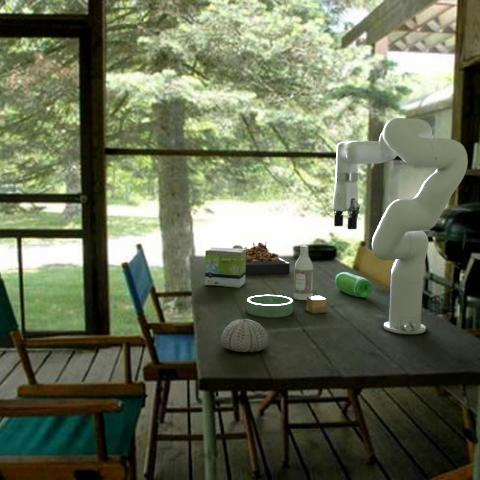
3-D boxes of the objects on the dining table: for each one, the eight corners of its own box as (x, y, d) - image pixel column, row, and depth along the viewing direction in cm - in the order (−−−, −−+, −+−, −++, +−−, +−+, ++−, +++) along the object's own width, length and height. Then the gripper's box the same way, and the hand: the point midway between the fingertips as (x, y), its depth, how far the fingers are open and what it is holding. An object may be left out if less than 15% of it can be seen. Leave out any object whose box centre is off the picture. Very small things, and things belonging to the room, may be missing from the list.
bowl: (293, 319, 202) (294, 305, 202) (247, 318, 203) (247, 304, 202) (290, 308, 218) (291, 295, 217) (247, 307, 218) (247, 294, 217)
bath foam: (290, 299, 230) (291, 246, 228) (298, 296, 236) (299, 244, 234) (307, 301, 227) (309, 247, 224) (315, 298, 233) (316, 245, 230)
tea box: (204, 285, 254) (204, 250, 252) (211, 281, 264) (211, 246, 262) (240, 288, 250) (240, 251, 248) (245, 283, 260) (246, 248, 258)
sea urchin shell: (219, 341, 177) (219, 314, 176) (266, 341, 178) (267, 313, 177) (221, 356, 164) (221, 326, 163) (272, 355, 165) (272, 326, 163)
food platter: (218, 258, 323) (219, 239, 321) (264, 257, 328) (265, 238, 327) (236, 274, 279) (237, 251, 278) (289, 273, 284) (289, 250, 283)
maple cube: (325, 313, 210) (326, 299, 210) (312, 314, 209) (312, 299, 208) (319, 310, 215) (319, 295, 214) (306, 311, 213) (306, 296, 213)
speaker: (333, 290, 248) (333, 271, 247) (348, 289, 251) (349, 270, 250) (356, 299, 232) (356, 279, 231) (372, 298, 234) (373, 278, 233)
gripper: (325, 177, 221) (324, 225, 223) (349, 179, 204) (347, 230, 207) (344, 177, 223) (342, 224, 225) (369, 179, 207) (367, 230, 209)
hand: (345, 227), depth 216 cm, fingers open, 9 cm apart
